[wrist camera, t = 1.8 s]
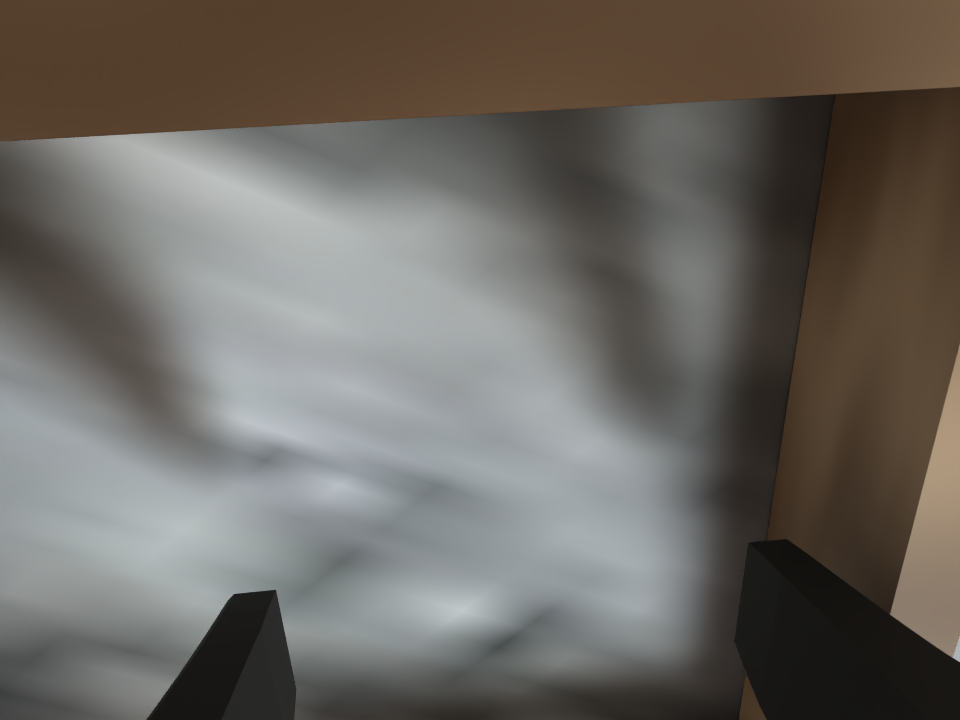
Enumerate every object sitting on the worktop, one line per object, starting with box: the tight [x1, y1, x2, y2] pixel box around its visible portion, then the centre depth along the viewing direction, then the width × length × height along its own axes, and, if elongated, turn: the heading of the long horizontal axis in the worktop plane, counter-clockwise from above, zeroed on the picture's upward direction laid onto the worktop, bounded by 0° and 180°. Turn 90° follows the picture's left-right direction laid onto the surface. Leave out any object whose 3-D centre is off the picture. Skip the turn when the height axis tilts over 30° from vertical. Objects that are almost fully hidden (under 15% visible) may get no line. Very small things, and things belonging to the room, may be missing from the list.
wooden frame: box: [0, 0, 960, 720], centre depth 12 cm, size 17×22×4 cm
